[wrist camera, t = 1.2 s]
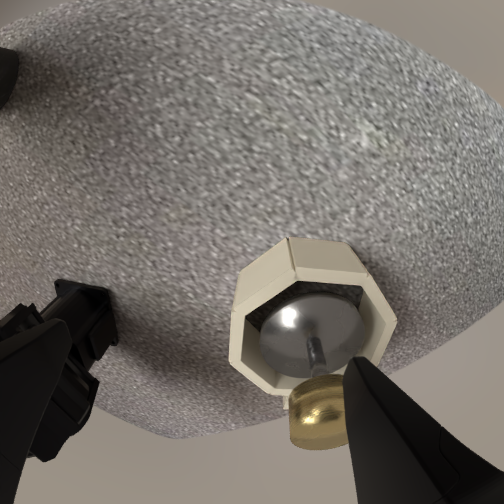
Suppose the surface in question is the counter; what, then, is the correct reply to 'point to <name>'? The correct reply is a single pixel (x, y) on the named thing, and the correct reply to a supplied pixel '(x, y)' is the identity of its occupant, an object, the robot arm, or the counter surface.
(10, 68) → the travel mug
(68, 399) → the robot arm
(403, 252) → the counter surface
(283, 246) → the cream octagonal ring
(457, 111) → the counter surface
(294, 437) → the plunger
